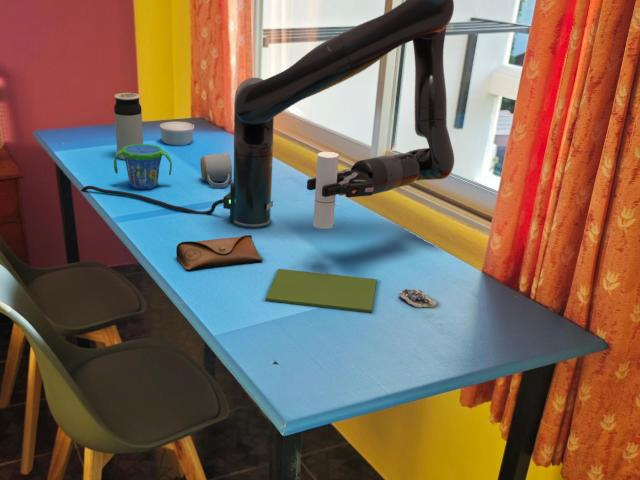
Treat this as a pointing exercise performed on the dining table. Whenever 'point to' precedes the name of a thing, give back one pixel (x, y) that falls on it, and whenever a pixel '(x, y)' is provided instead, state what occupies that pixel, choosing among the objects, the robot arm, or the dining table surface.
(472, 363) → the dining table surface
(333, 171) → the tube
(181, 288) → the dining table surface
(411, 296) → the rough mineral rock
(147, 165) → the snack cup
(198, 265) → the sunglasses case
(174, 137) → the ramekin
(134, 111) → the travel mug
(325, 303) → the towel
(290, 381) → the dining table surface
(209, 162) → the ceramic mug
